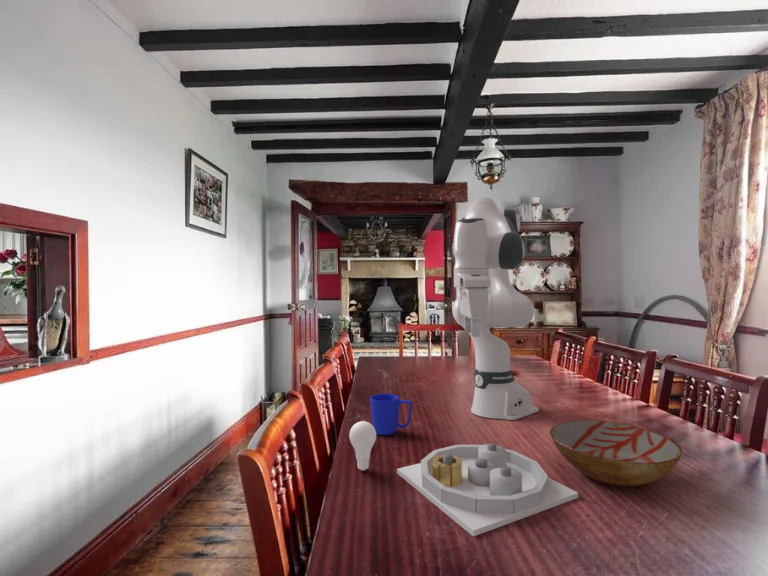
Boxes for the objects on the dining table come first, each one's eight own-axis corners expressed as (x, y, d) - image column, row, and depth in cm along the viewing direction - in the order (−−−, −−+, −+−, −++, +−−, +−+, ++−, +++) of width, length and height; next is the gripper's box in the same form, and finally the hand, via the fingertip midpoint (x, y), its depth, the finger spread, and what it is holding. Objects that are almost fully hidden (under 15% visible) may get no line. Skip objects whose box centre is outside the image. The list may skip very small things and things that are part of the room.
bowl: (690, 520, 71) (689, 474, 71) (539, 484, 85) (539, 446, 85) (677, 466, 93) (677, 431, 93) (559, 444, 106) (559, 413, 106)
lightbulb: (349, 465, 95) (349, 418, 95) (375, 463, 95) (375, 417, 95) (349, 477, 89) (349, 427, 89) (377, 475, 89) (377, 425, 89)
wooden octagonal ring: (450, 470, 89) (450, 452, 89) (468, 482, 84) (467, 462, 84) (427, 476, 86) (427, 458, 86) (444, 489, 81) (444, 469, 81)
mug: (410, 439, 110) (410, 402, 110) (367, 436, 113) (367, 400, 113) (414, 428, 119) (413, 394, 119) (374, 426, 121) (373, 392, 121)
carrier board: (487, 450, 102) (486, 426, 102) (578, 497, 79) (577, 467, 79) (397, 473, 90) (396, 446, 90) (473, 536, 67) (472, 500, 67)
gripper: (453, 281, 114) (454, 330, 114) (464, 280, 94) (465, 339, 94) (476, 281, 114) (476, 330, 114) (492, 279, 94) (493, 339, 94)
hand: (471, 334), depth 104 cm, fingers open, 8 cm apart
